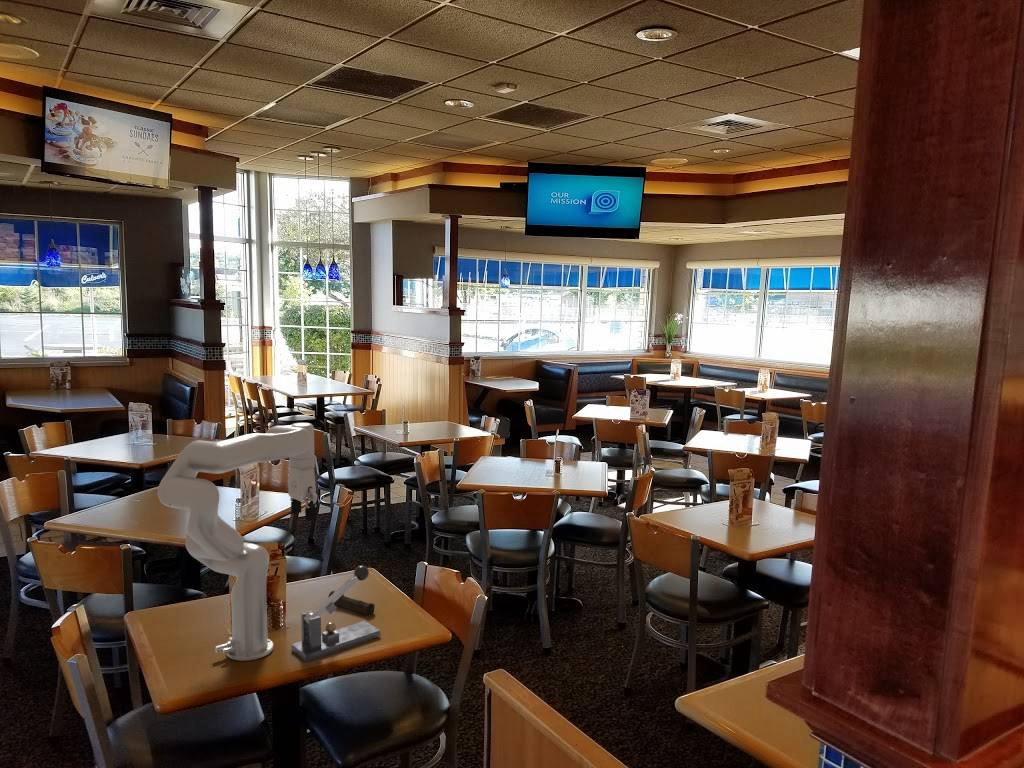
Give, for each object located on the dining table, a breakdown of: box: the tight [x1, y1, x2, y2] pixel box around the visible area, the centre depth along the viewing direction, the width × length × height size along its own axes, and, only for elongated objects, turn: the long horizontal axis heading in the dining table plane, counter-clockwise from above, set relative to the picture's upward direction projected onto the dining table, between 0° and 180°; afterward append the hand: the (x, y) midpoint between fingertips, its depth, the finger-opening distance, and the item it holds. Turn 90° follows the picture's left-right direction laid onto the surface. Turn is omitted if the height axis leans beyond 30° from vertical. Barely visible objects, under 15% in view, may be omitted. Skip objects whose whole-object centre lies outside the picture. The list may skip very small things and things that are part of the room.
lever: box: [304, 565, 370, 624], centre depth 214 cm, size 23×4×5 cm, turn 133°
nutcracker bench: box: [291, 610, 381, 663], centre depth 214 cm, size 24×9×11 cm, turn 132°
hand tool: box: [327, 590, 376, 617], centre depth 240 cm, size 19×4×5 cm, turn 56°
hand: (303, 516), depth 228 cm, fingers open, 9 cm apart
